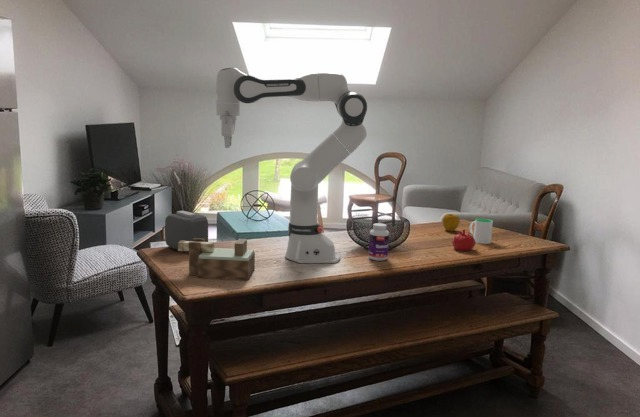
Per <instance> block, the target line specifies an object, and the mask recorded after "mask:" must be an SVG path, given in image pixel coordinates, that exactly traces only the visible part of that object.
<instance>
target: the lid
mask: <svg viewBox="0 0 640 417" xmlns="http://www.w3.org/2000/svg"><path fill="white" fill-rule="evenodd" d="M254 252H255V249H248V239H247V238H238V239H237V240H236V241H235V242H234V248H224V247H214V251H213V252H202V253H201V254H200V255H199V259H217V260H238V261H248V260H249V259H250V257H251V256H252V254H253V253H254Z"/></svg>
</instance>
